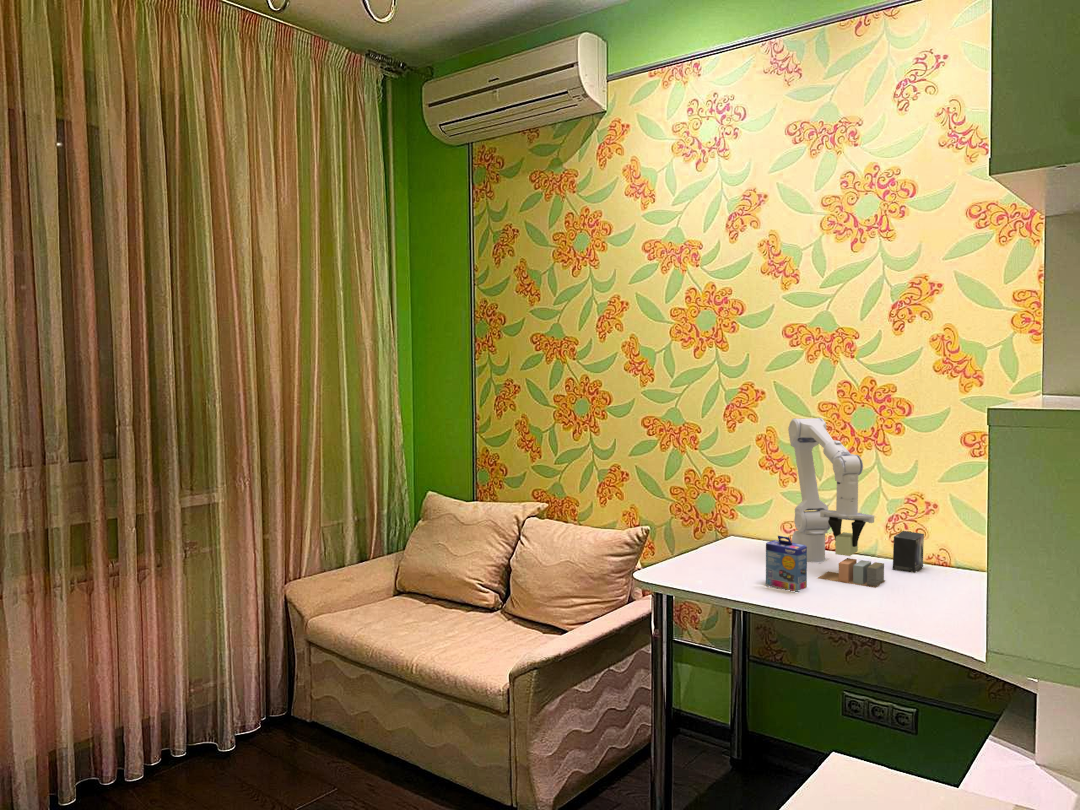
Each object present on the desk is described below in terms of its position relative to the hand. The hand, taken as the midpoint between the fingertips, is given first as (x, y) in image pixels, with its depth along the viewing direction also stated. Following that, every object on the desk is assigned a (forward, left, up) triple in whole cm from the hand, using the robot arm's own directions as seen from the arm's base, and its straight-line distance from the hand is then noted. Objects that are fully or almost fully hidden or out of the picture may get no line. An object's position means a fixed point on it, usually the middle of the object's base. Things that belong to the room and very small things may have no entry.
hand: (846, 545), depth 235 cm
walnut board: (+3, -3, -9) cm, 10 cm away
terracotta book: (+2, -3, -9) cm, 9 cm away
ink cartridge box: (-9, -20, -10) cm, 24 cm away
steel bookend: (+9, -3, -9) cm, 13 cm away
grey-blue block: (+6, -3, -9) cm, 11 cm away
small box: (+12, +20, -10) cm, 25 cm away
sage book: (0, 0, -2) cm, 2 cm away
